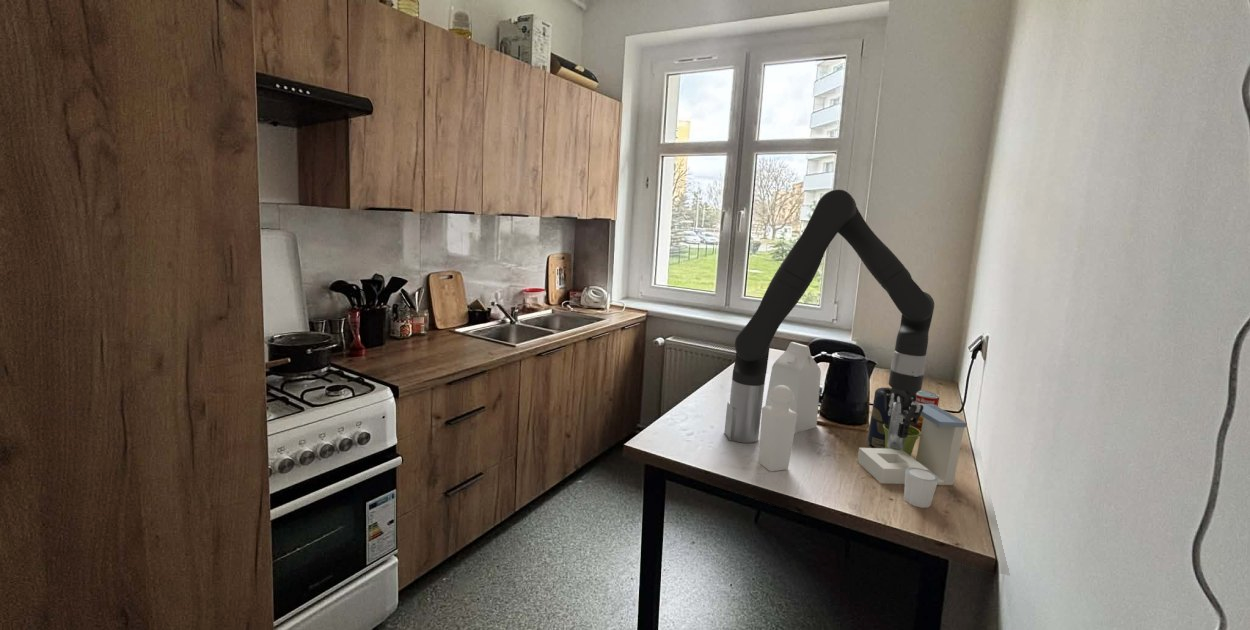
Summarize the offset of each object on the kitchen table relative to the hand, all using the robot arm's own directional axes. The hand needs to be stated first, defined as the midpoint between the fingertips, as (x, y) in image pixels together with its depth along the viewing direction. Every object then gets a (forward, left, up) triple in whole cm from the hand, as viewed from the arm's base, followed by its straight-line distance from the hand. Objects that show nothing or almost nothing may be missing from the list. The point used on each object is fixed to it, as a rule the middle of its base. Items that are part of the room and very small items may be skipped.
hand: (897, 433), depth 138 cm
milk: (-15, +32, -11) cm, 37 cm away
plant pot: (+7, +9, -11) cm, 16 cm away
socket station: (+3, 0, -11) cm, 11 cm away
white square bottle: (-31, +2, -11) cm, 33 cm away
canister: (+7, +16, -11) cm, 21 cm away
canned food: (+28, +31, -11) cm, 43 cm away
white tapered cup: (-2, -14, -11) cm, 18 cm away
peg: (0, 0, -4) cm, 4 cm away
